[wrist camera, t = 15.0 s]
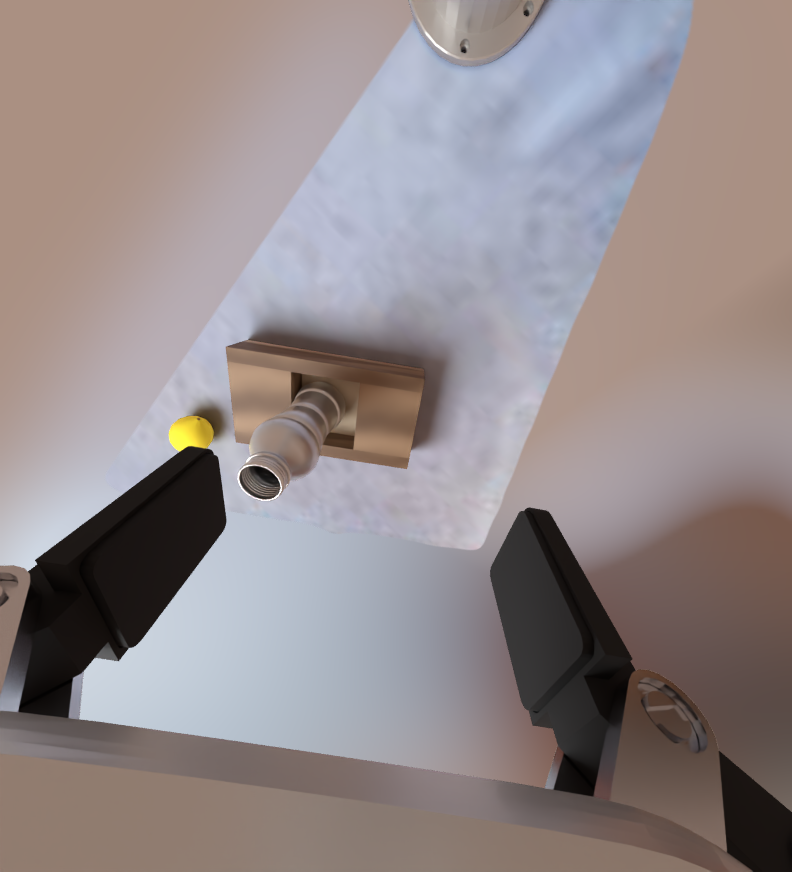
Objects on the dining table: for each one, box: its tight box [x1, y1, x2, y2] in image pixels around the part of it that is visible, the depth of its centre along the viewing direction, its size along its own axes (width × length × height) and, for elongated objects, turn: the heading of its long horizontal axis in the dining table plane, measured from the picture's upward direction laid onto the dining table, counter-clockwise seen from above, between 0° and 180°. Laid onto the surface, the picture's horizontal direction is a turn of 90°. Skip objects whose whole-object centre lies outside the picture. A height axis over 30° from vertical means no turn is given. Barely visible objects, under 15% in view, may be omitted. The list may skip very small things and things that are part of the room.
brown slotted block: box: [226, 340, 425, 469], centre depth 41 cm, size 13×24×5 cm, turn 81°
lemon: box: [169, 416, 214, 451], centre depth 44 cm, size 7×5×5 cm
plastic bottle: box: [238, 381, 345, 501], centre depth 33 cm, size 6×7×20 cm
